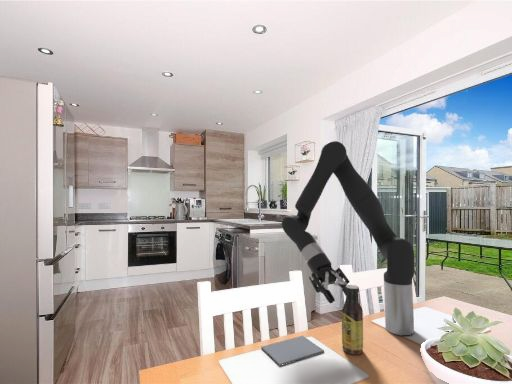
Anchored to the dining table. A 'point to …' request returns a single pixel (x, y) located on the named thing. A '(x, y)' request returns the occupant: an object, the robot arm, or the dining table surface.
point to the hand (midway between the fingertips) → (341, 299)
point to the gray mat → (292, 350)
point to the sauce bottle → (352, 322)
